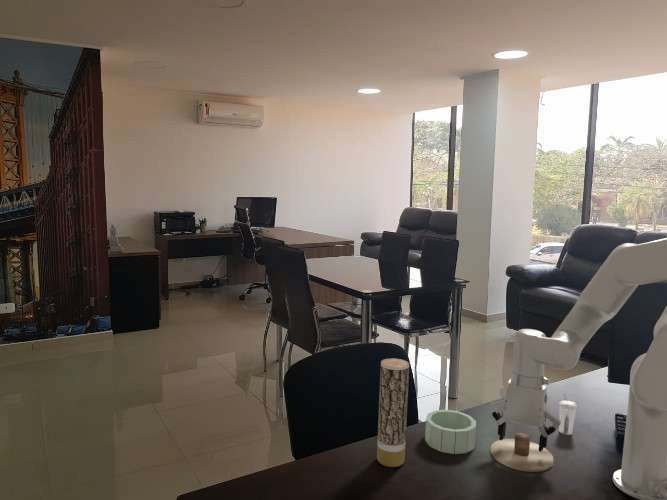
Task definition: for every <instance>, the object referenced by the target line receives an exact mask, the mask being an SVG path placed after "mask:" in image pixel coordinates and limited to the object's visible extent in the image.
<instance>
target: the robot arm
mask: <svg viewBox="0 0 667 500" xmlns="http://www.w3.org/2000/svg"><path fill="white" fill-rule="evenodd" d="M664 281H667V237H666V238H661V239H657V240H653V241H652V240H651V241H649V242H643V243H638V244H637V243H631V242H627V243H626V242H625V243H622V244H620V245H618V246H617V247H615V248H614V249H613V250H612V251H611V252H610V254H609V255H608V256H607V258H606V260H604V262H603V263H602V265H601V266H600V267H599V269H598V270H597V272H596V273H595V274H594V276H592V278H591V280H590V281H589V282H588V284H587V285H586V287H585V288H584V289H583V290H582V292H581V293H580V294H579V296H578V298H577V300H576V302H575V304H574V305H573V307H572V308H571V310H570V311H569V312H568V314H567V315H566V316H565V318H564V319H563V320H562V321H561V323H560V325H559V326H558V327H557V328H556V330H555V331H554V332H553V334H552V335H551V337H547V335H546V334H545V333H544V332H542V331H541V330H537V329H533V328H532V329H531V328H521V329H518V330H517V331H516V332H515V334H514V338H513V339H514V341H513V351H512V353H513V354H512V361H511V362H512V363H511V376H510V377H511V378H510V379H508V380H507V385H506V388H505V391H504V396H503V399H502V400H497V401H493V402H491V403H489V405H488V407H489V409H490V412H491V414H492V417H493V418H494V419H495V421H496V424H497V425H498V426H497V435H498V436H499V437H498V440H503V439H505V437H506V431H507V430H506V429H507V421H509V422H513V423H516V424H519V425H520V424H521V425H524V426H529V427H532V428H537V430H538V431H539V433H540V435H539V441H538V442H539V443H538V445H539V451H540V452H542V450H543V448H545V449H547V444H548V436H550V435H552V434H554V433H555V432H556V430H557V429H559V425H560V424H561V421H560V420H559V417H557V416H555V415H554V414H552V413H551V412H550V411H548V391H547V387H546V386H547V385H550V381H551V379H549V378H547V377H546V376H545V366H548V367H551V368H553V369H557V370H560V371H561V370H563V371H565V370H566V371H567V370H571V369H572V368H574V367H576V366H577V364H578V362H579V361H580V357H581V353H582V351H583V350H584V348H585V347H586V346H587V344H588V343H589V341H590V340H591V338H592V337H593V336H594V335H595V334H596V332H597V331H598V330H599V329H600V328H601V327H602V326H603V325H604V324H606V322H608V321H610V320H612V319H613V318H614V317H615V316H616V315H617V314H618V312H619V311H620V310H621V309H622V308H623V306H624V305H625V304H626V302H627V301H628V299H629V298H630V297H631V296H632V294H634V292H635V291H636V289H637V288H638V287H639V286H640V285H641V286H642V285H646V284H654V283H659V282H664ZM629 377H630V378H629V390H628V391H629V392H628V401H627V411H626V412H627V413H626V421H625V431H624V439H623V449H622V460H621V469H618V470H616V471H614V472H613V474H612V481H613V483H614V485H615V487H617V488H618V489H619V490H620V491H621V492H623V493H624V494H626V495H628V496H630V497H632V498H634V499H637V500H667V305H666V306H665V309H664V310H663V312H662V313H661V316H660V317H659V319H658V320H657V321H656V324H655V325H654V328H653V340H652V342H651V344H650V345H649V347H648V350H647V351H646V352H645V353H643V354H640V355H639V356H638V357H636V359H635V360H634V361H633V363H632V364H631V368H630V374H629ZM498 408H502V411H501V412H502V413H500V412H499V411H498ZM547 420H549V421H550V422H551V423H552V424H551V425H550V426H549V427H548V426H547V424H546V421H547Z"/></svg>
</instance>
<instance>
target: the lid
mask: <svg viewBox="0 0 667 500" xmlns="http://www.w3.org/2000/svg"><path fill="white" fill-rule="evenodd" d="M490 455H491V456H492V457H493V458H494V460H496V462H498V463H500V464H502V465H503V466H506V467H508V468H511V469H513V470H517V471H521V472H527V473H529V472H530V473H538V472H544V471H548V470H549V469H551V468H552V467H553V465H554V456H553V454H552V453H551V452H550V450H549V449H547V448H543V450H542V452H540V451H539V443H536V442H533V441H531V436H530V434H527V433H523V432H518V433H517V432H516V433H515V435H514V438H503V440H499V439H498V440H495V441H494V442H493V443H492V444H491V445H490Z"/></svg>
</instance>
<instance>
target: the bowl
mask: <svg viewBox="0 0 667 500" xmlns="http://www.w3.org/2000/svg"><path fill="white" fill-rule="evenodd" d="M476 429H477V421H476V420H475V418H473V417H472V416H471V415H469V414H466V413H464V412H461V411H459V410H452V409H451V410H450V409H439V410H438V409H437V410H433V411H430V412H429V413H427V415H426V418H425V430H424V441H425V443H426V444H427V445H428V446H429V447H430V448H432V449H434V450H435V451H438V452H441V453H446V454H452V455H459V454H468V453H469V452H471V451H473V450H474V449H475V447H476V446H475V445H476V443H475V442H476Z"/></svg>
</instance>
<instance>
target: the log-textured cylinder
mask: <svg viewBox="0 0 667 500" xmlns="http://www.w3.org/2000/svg"><path fill="white" fill-rule="evenodd" d="M409 375H410V363H409V362H408V361H406V360H404V359H399V358H385V359H382V360H381V361H380V374H379V376H380V377H379V394H378V395H379V397H378V398H379V399H378V419H377V420H378V421H377V425H378V426H377V442H376V444H377V445H376V446H377V447H376V449H377V450H376V459H377V462H378V463H379V464H380V465H382V466H384V467H386V468H387V467H388V468H396V467H397V468H398V467H400V466H402V465H403V464H404V462H405V460H406V458H405V457H406V438H407V422H408V421H407V418H408V417H407V416H408V400H409V399H408V398H409V396H408V395H409V377H410V376H409Z"/></svg>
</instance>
